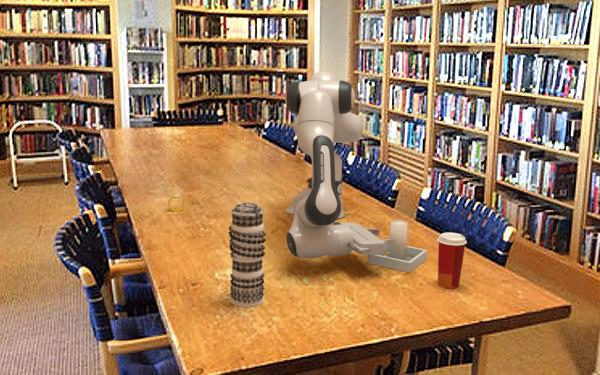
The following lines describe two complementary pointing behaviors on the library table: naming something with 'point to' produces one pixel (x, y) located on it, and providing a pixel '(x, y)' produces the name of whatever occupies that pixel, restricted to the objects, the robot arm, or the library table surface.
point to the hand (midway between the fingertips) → (385, 236)
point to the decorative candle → (247, 255)
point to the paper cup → (450, 259)
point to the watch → (175, 197)
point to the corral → (397, 264)
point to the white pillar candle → (398, 239)
